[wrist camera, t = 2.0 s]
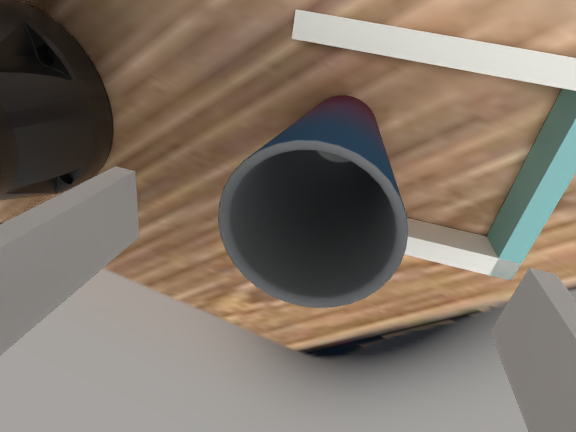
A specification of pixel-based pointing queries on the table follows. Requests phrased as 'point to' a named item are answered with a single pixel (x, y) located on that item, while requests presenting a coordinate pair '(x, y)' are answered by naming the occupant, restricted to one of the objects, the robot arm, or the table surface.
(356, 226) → the cup
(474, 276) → the table surface
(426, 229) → the bay
